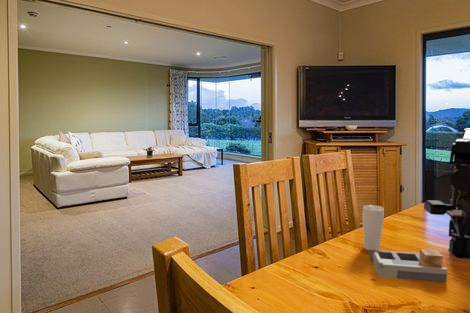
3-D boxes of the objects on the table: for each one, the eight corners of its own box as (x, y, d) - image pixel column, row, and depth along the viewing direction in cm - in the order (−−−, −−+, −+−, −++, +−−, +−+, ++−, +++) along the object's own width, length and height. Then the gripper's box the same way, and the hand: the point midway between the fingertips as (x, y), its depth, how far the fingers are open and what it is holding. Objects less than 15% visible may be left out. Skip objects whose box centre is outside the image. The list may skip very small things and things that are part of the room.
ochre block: (435, 264, 101) (436, 249, 100) (441, 271, 96) (442, 256, 96) (419, 263, 101) (420, 248, 101) (424, 269, 97) (425, 255, 97)
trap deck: (428, 261, 108) (428, 247, 108) (446, 282, 95) (447, 267, 94) (369, 256, 112) (369, 244, 111) (378, 277, 98) (379, 262, 98)
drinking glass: (359, 250, 117) (361, 208, 115) (362, 243, 123) (364, 204, 121) (381, 254, 114) (383, 211, 112) (382, 247, 120) (384, 206, 118)
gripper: (440, 189, 88) (436, 246, 90) (521, 192, 84) (515, 251, 87) (425, 181, 99) (421, 231, 101) (496, 183, 95) (491, 235, 97)
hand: (460, 237), depth 96 cm, fingers closed
